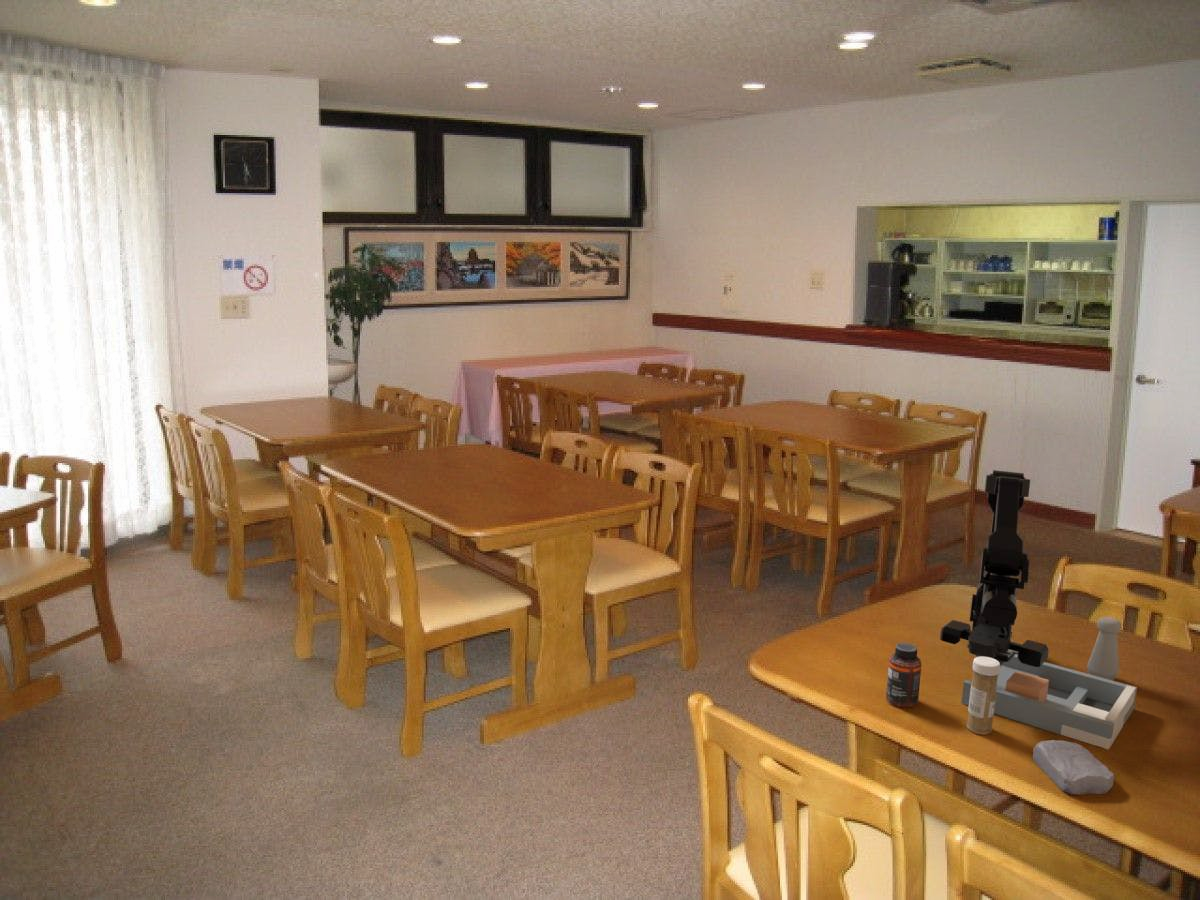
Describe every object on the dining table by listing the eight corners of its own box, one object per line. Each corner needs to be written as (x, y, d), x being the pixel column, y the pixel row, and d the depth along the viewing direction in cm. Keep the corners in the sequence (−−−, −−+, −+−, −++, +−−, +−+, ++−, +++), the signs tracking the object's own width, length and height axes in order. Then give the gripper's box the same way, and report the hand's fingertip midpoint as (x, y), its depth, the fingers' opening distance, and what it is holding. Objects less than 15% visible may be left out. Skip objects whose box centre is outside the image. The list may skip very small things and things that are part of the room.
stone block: (1077, 766, 176) (1025, 757, 175) (1086, 742, 175) (1034, 733, 174) (1117, 807, 165) (1061, 798, 163) (1127, 781, 164) (1071, 772, 162)
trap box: (961, 703, 194) (964, 679, 193) (995, 669, 209) (998, 646, 208) (1108, 749, 178) (1112, 723, 177) (1133, 709, 194) (1137, 684, 193)
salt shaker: (1120, 687, 203) (1130, 626, 200) (1089, 683, 204) (1098, 623, 201) (1112, 674, 208) (1121, 615, 205) (1082, 671, 209) (1091, 612, 207)
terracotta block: (1004, 700, 191) (1006, 681, 190) (1013, 689, 196) (1016, 670, 195) (1037, 710, 188) (1039, 690, 187) (1046, 699, 192) (1049, 679, 191)
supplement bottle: (918, 697, 196) (924, 643, 193) (917, 711, 190) (923, 655, 188) (886, 692, 198) (891, 638, 195) (884, 705, 192) (889, 650, 190)
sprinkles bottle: (997, 734, 183) (1006, 665, 180) (974, 736, 182) (983, 667, 179) (982, 722, 187) (990, 654, 184) (960, 724, 186) (968, 656, 183)
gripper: (933, 607, 192) (925, 683, 195) (1036, 634, 180) (1025, 714, 184) (954, 591, 200) (946, 664, 204) (1054, 616, 189) (1043, 693, 192)
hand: (988, 683), depth 196 cm, fingers closed
